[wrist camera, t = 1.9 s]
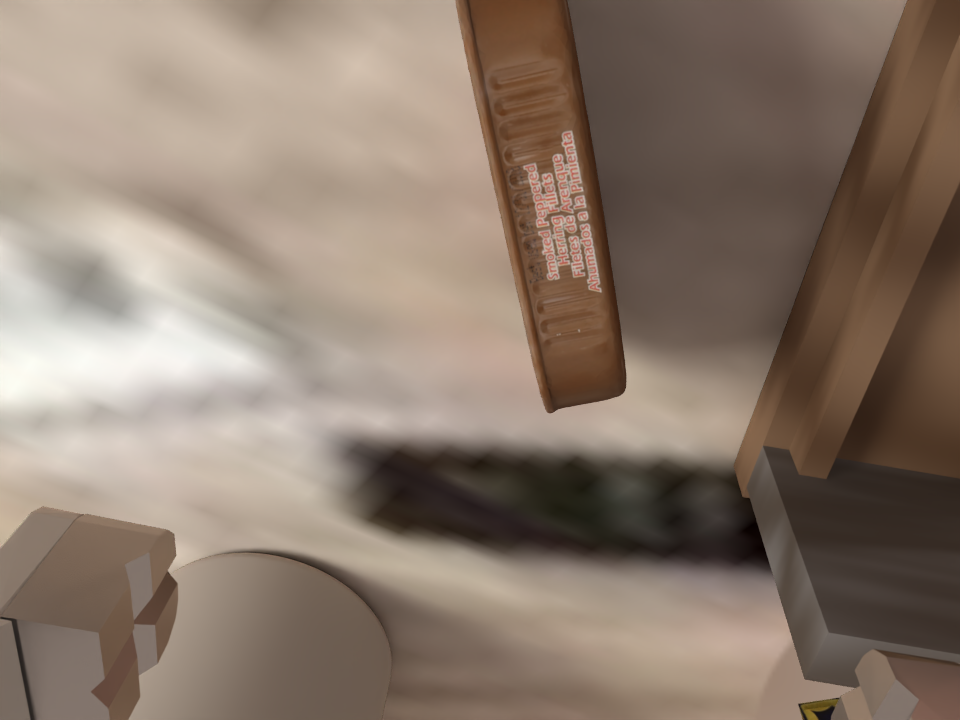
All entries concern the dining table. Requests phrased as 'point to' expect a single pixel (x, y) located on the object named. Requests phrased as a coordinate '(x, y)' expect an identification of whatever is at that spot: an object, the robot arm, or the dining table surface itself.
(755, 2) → the dining table surface
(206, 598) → the cylinder vase
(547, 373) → the tin
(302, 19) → the dining table surface
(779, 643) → the dining table surface
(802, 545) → the holder
